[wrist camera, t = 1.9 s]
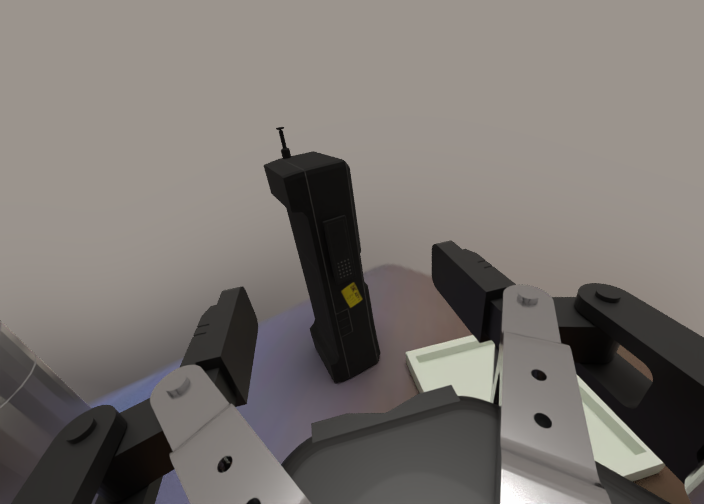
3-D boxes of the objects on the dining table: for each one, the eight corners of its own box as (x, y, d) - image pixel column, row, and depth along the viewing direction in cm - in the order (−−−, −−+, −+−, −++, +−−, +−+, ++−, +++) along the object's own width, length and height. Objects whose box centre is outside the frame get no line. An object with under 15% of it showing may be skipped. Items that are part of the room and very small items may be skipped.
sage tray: (480, 532, 19) (483, 522, 18) (406, 363, 31) (405, 352, 30) (658, 472, 20) (669, 461, 19) (520, 333, 32) (523, 322, 31)
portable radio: (388, 366, 31) (365, 120, 18) (340, 394, 28) (277, 137, 16) (355, 324, 37) (321, 119, 24) (313, 344, 35) (253, 131, 22)
